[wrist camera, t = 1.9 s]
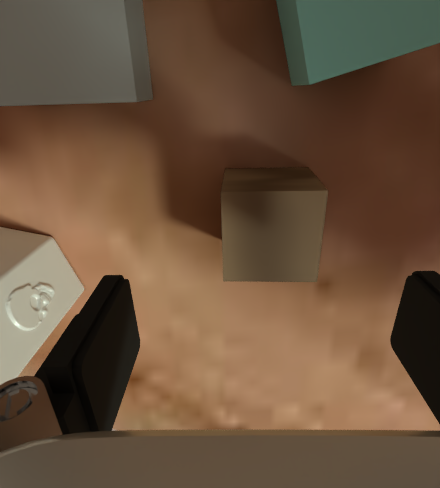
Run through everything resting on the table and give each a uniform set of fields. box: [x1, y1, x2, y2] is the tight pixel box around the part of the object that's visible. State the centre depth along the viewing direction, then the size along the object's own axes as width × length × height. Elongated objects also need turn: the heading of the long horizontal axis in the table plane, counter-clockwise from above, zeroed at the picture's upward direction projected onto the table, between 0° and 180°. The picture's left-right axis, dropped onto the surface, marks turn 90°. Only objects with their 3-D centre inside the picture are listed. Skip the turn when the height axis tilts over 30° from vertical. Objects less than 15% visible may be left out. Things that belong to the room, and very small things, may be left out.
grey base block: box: [0, 0, 153, 106], centre depth 15 cm, size 7×7×4 cm
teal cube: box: [276, 0, 440, 86], centre depth 14 cm, size 5×5×5 cm
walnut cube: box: [221, 167, 328, 282], centre depth 18 cm, size 5×5×5 cm
